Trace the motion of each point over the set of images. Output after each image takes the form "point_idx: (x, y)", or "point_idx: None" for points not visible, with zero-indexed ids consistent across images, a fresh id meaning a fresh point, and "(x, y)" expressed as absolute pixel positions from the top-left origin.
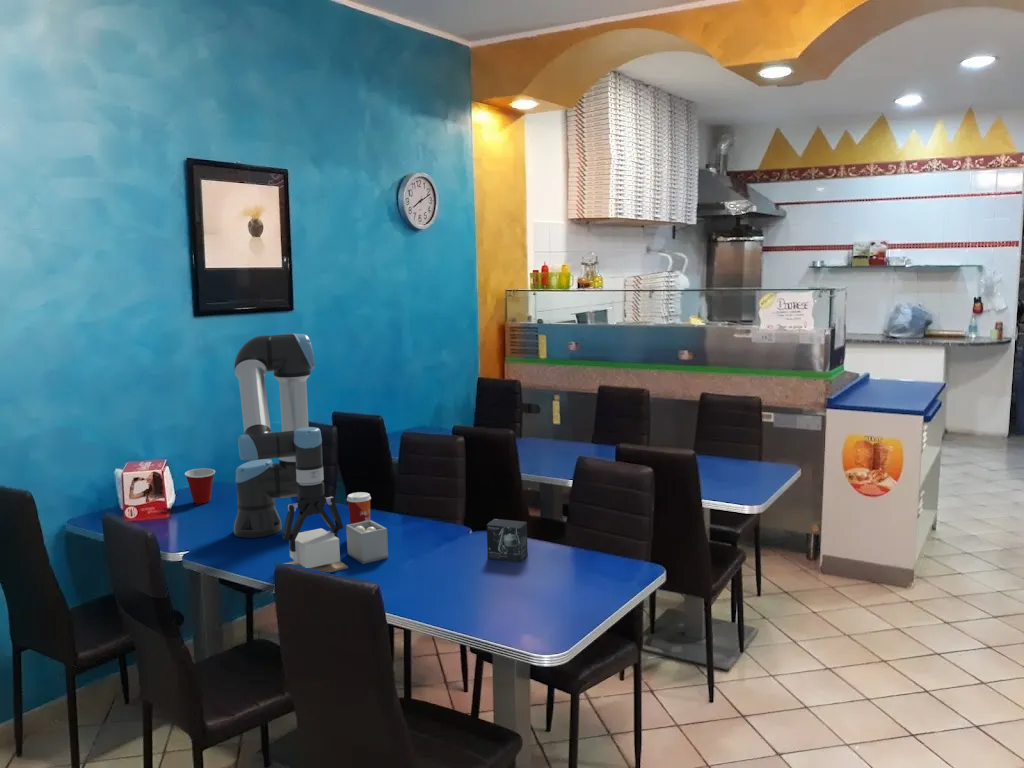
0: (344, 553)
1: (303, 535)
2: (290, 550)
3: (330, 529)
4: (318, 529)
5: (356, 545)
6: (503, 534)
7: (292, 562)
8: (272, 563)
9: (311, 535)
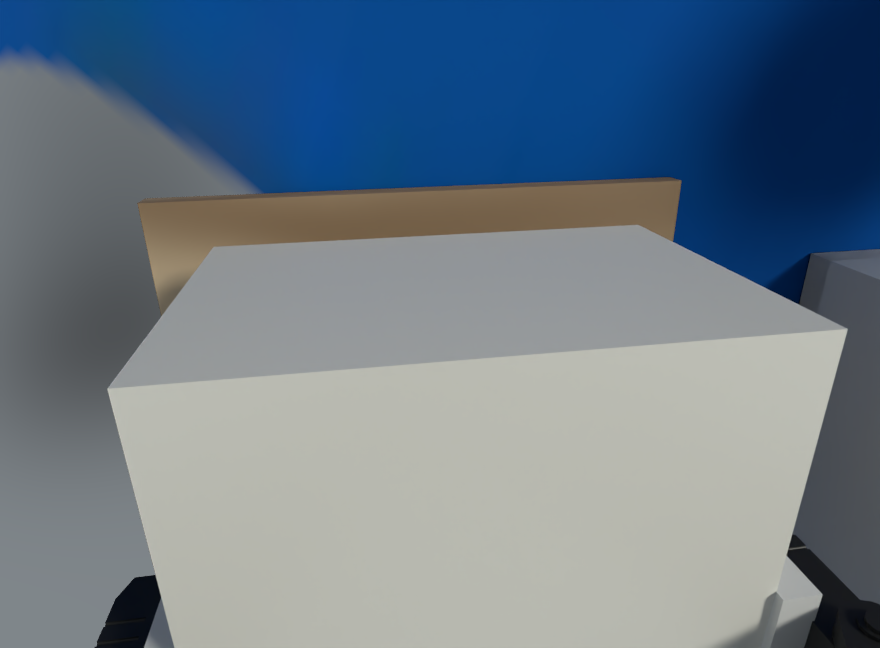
0: (805, 211)
1: (381, 572)
2: (132, 585)
3: (839, 628)
4: (762, 373)
5: (868, 529)
6: None
7: (251, 232)
8: (24, 23)
9: (497, 627)
